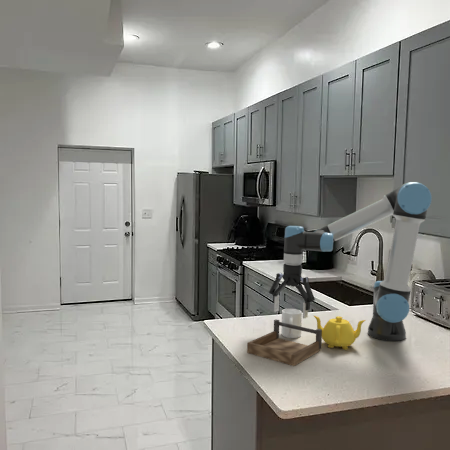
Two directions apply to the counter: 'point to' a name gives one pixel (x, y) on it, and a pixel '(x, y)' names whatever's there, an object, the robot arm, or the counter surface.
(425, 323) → the counter surface
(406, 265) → the robot arm
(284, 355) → the wooden serving tray
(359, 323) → the teapot
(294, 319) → the mug
